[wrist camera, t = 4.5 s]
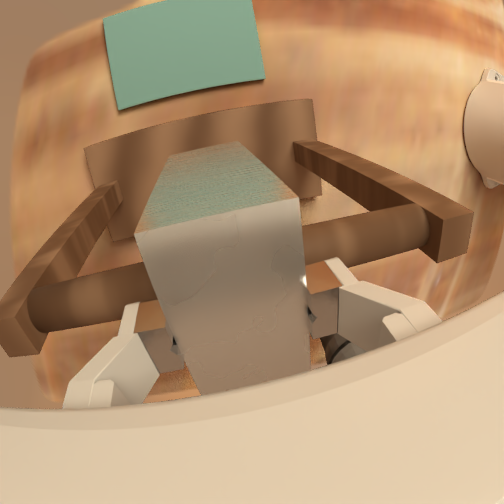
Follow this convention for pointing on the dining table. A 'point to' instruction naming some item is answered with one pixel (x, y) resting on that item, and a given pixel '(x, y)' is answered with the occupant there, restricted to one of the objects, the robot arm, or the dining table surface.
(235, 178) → the tall rectangular pillar
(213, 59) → the mat
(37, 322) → the stand
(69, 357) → the dining table surface
